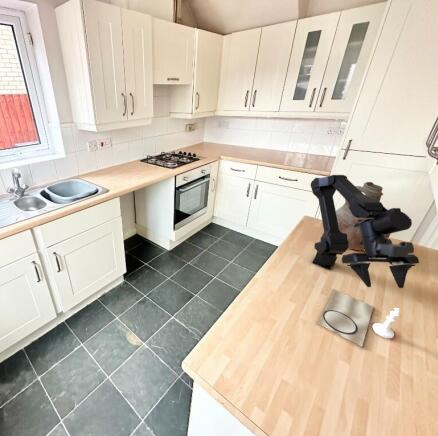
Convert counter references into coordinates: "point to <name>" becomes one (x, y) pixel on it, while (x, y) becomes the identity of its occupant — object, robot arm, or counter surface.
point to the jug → (348, 220)
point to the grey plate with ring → (347, 317)
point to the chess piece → (387, 325)
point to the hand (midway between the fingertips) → (385, 287)
